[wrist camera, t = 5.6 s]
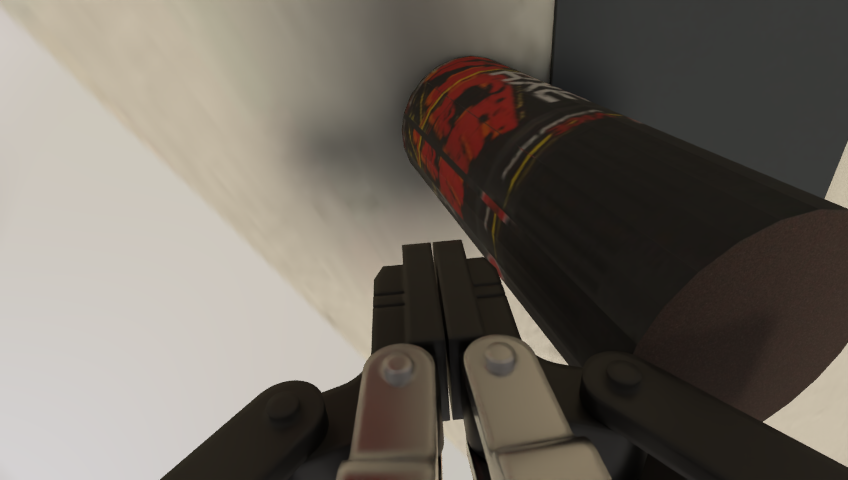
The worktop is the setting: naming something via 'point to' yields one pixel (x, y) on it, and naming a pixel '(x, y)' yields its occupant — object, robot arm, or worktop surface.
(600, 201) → the deodorant
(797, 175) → the mat
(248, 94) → the worktop surface
